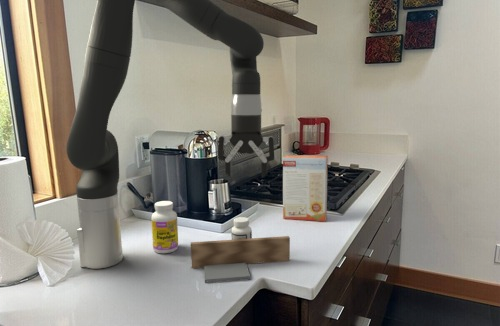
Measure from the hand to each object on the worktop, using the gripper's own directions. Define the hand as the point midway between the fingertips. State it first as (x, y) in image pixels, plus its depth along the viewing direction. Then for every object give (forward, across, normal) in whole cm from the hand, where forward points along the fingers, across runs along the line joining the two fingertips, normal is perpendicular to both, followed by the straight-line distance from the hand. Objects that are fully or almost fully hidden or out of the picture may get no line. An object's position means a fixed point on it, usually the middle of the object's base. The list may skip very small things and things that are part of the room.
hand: (246, 176), depth 97 cm
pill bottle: (+20, -1, -1) cm, 20 cm away
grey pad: (+20, -4, -14) cm, 25 cm away
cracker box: (+20, +18, +27) cm, 38 cm away
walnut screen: (+20, -1, -8) cm, 22 cm away
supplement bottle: (+20, -22, 0) cm, 30 cm away
